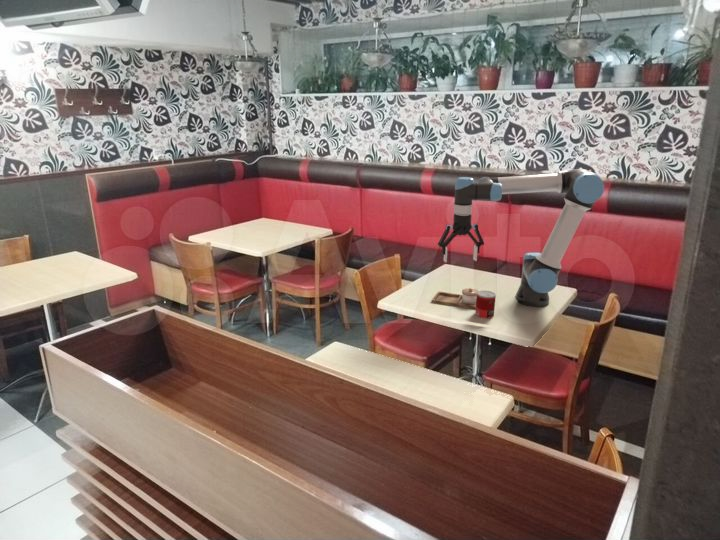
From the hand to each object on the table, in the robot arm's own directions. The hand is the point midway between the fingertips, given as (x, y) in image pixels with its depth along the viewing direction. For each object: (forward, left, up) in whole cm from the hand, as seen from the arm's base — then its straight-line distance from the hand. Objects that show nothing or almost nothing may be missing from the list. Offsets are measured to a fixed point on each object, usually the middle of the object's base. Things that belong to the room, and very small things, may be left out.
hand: (460, 260), depth 237 cm
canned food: (-14, +7, -22) cm, 27 cm away
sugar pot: (-5, -4, -21) cm, 22 cm away
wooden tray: (0, -4, -22) cm, 22 cm away
